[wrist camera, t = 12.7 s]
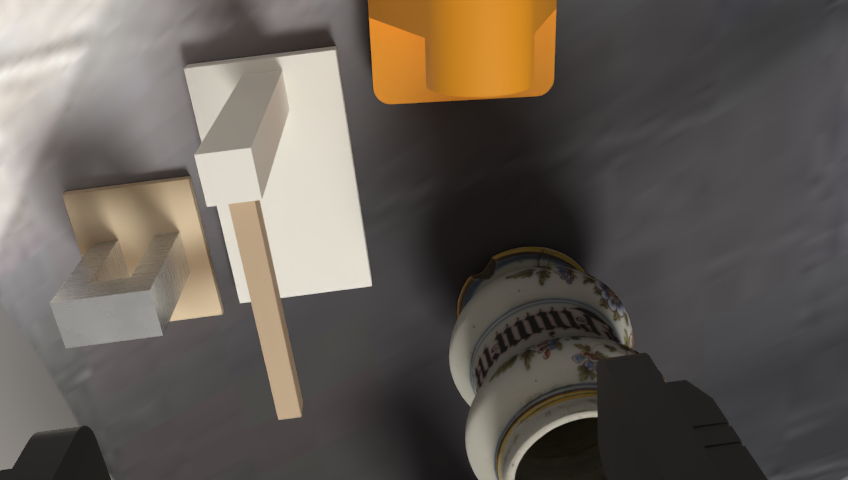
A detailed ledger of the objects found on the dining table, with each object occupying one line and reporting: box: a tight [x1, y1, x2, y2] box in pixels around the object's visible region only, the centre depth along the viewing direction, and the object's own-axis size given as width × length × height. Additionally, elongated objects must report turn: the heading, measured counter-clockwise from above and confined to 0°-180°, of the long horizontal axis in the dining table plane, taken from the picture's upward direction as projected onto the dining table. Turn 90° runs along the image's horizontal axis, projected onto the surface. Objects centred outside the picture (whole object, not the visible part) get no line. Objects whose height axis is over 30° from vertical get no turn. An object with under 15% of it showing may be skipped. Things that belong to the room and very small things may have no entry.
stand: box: [184, 46, 372, 420], centre depth 43 cm, size 16×9×16 cm, turn 6°
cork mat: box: [62, 176, 224, 321], centre depth 52 cm, size 10×8×1 cm
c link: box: [50, 232, 190, 348], centre depth 48 cm, size 3×6×8 cm, turn 96°
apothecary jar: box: [449, 247, 667, 480], centre depth 48 cm, size 12×12×18 cm
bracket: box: [368, 0, 557, 104], centre depth 42 cm, size 11×7×12 cm, turn 92°
